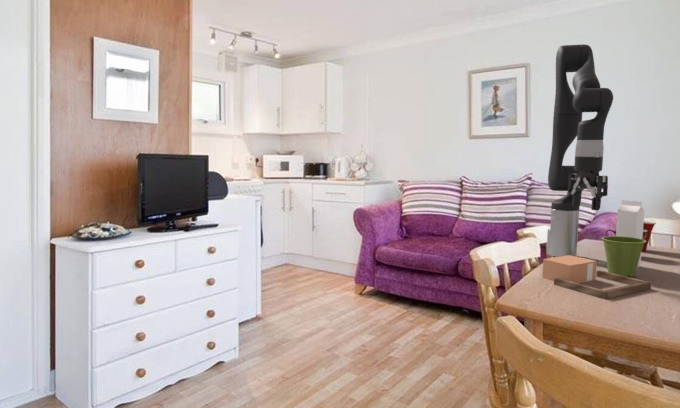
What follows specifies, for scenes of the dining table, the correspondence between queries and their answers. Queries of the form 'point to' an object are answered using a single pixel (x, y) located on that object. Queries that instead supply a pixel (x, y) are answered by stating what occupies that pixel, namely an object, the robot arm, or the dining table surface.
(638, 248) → the plant pot
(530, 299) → the dining table surface
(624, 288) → the tray
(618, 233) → the milk
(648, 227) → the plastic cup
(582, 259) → the carton
